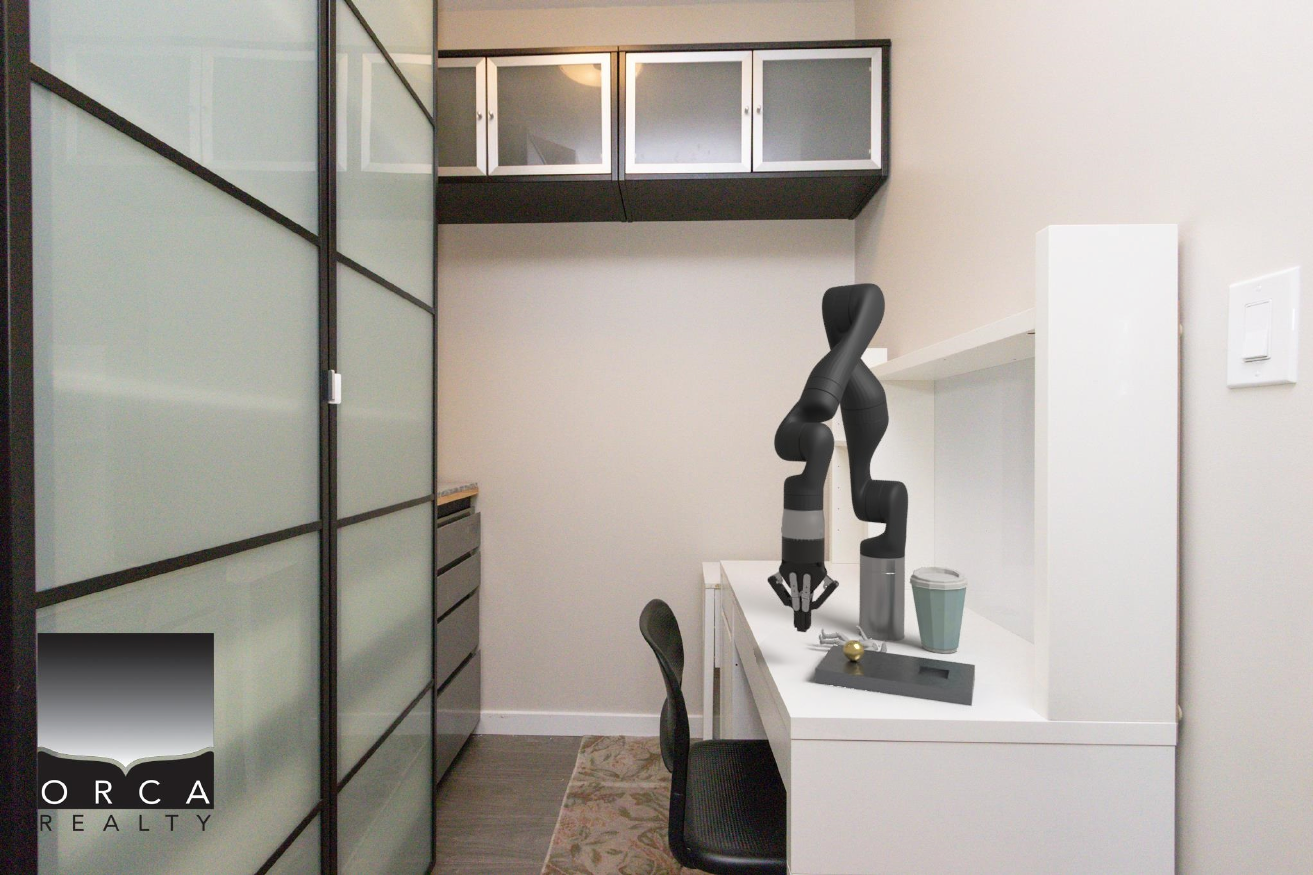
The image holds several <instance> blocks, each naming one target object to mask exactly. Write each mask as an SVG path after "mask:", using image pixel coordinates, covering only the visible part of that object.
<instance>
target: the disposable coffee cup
mask: <svg viewBox="0 0 1313 875" xmlns="http://www.w3.org/2000/svg"><path fill="white" fill-rule="evenodd" d="M912 571H913V572H912V574H911V576H910V578H909V584H910V586H911V590H912V596H913V601H914V602H913V603H914V608H915V613H916V620H917V625H918V633H919V637H920V643H921V645H922V648H923V649H925V651H928V652H932V653H937V654H952V653H955V652H957V650H958V648H959V643H960V636H961V629H962V624H963V622H962V621H963V616H964V615H963V614H964V607H965V599H966V592H967V588H968V587H969V586H968V585H969V584H968V578H966V577H965V573H962V572H960V571H958V570H957V569H952V568H948V567H939V566H937V567H936V566H934V567H933V566H927V567H926V566H925V567H920V568H916V569H913V570H912Z"/></svg>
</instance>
